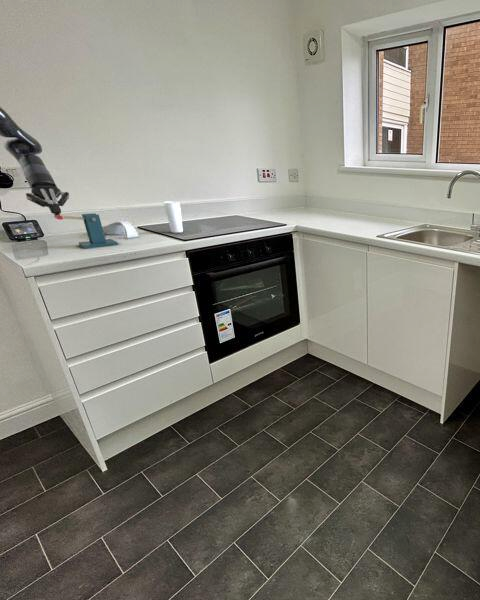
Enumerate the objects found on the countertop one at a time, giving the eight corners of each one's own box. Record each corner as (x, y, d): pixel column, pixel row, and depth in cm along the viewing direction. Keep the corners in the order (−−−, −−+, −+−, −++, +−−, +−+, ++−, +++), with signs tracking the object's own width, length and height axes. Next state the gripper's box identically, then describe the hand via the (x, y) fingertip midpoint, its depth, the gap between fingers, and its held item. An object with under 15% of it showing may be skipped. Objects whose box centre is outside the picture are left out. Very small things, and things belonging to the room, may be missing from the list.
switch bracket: (85, 248, 142) (76, 216, 138) (79, 245, 147) (69, 214, 143) (118, 244, 151) (110, 214, 146) (110, 241, 156) (103, 212, 151)
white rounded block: (94, 233, 169) (90, 218, 166) (122, 230, 179) (118, 216, 176) (119, 240, 159) (115, 224, 156) (147, 236, 168) (144, 221, 166)
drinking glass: (183, 230, 184) (178, 201, 178) (186, 232, 179) (180, 202, 174) (168, 231, 180) (162, 201, 174) (170, 234, 175) (164, 203, 170)
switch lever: (58, 220, 135) (57, 214, 135) (54, 219, 138) (53, 212, 138) (98, 222, 145) (97, 216, 144) (93, 221, 148) (93, 215, 148)
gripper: (14, 171, 131) (32, 208, 129) (61, 172, 141) (79, 206, 139) (17, 185, 136) (34, 221, 134) (62, 185, 146) (79, 218, 144)
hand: (57, 213), depth 137 cm, fingers closed
